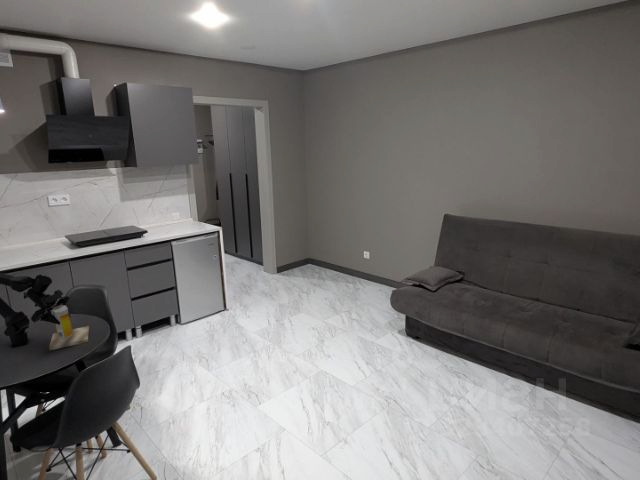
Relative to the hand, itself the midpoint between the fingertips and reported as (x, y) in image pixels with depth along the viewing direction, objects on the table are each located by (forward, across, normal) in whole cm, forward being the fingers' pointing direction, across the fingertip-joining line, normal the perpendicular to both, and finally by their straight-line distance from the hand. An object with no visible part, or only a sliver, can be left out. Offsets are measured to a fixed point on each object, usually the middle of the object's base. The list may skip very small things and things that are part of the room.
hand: (64, 320), depth 191 cm
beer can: (+5, 0, +7) cm, 9 cm away
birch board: (+6, +6, +13) cm, 16 cm away
